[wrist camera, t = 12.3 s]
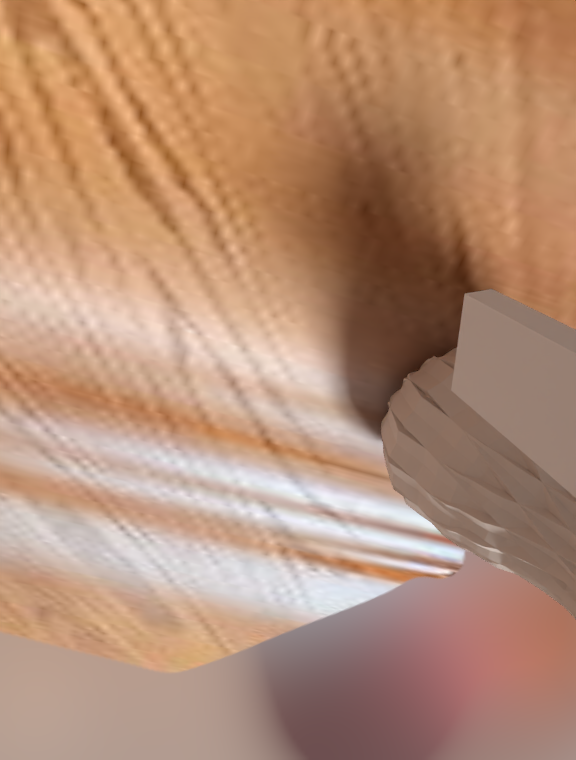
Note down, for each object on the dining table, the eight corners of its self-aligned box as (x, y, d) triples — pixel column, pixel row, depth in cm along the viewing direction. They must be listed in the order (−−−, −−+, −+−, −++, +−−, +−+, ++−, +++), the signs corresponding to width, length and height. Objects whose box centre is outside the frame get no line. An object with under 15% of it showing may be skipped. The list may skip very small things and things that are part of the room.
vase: (496, 289, 51) (851, 461, 26) (519, 419, 62) (784, 628, 37) (332, 379, 51) (534, 642, 26) (385, 494, 62) (562, 757, 37)
